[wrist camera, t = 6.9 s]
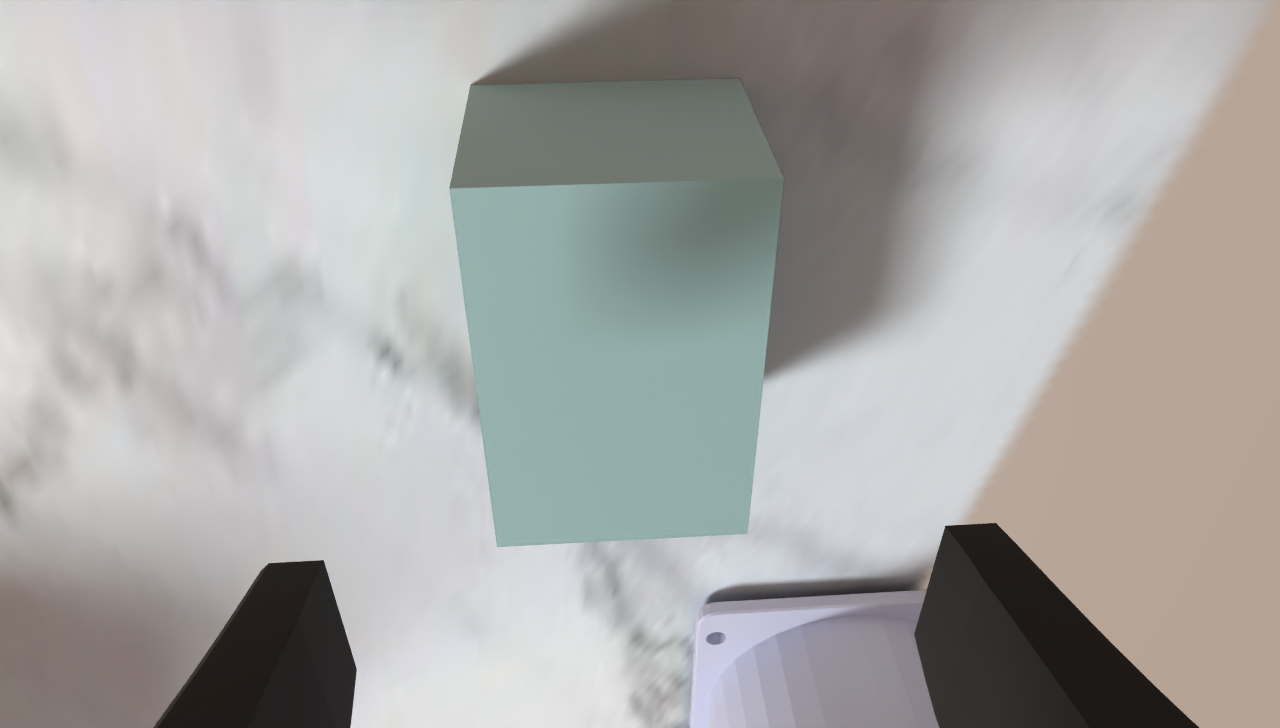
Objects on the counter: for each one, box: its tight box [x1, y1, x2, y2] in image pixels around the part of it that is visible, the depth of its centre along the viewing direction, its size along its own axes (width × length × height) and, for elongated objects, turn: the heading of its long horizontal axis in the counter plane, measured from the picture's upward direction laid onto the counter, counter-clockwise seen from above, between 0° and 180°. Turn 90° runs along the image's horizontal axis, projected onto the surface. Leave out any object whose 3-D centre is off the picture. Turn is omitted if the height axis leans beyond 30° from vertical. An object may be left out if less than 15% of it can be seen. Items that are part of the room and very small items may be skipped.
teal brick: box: [450, 78, 784, 547], centre depth 16 cm, size 7×4×4 cm, turn 0°
